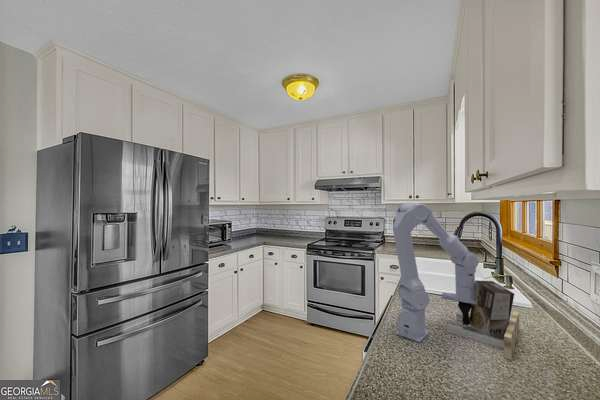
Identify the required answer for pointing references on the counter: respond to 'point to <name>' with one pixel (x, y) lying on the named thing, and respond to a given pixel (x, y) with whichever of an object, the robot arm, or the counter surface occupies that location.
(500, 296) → the coffee box
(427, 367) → the counter surface
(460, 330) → the rails
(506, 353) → the back plate
